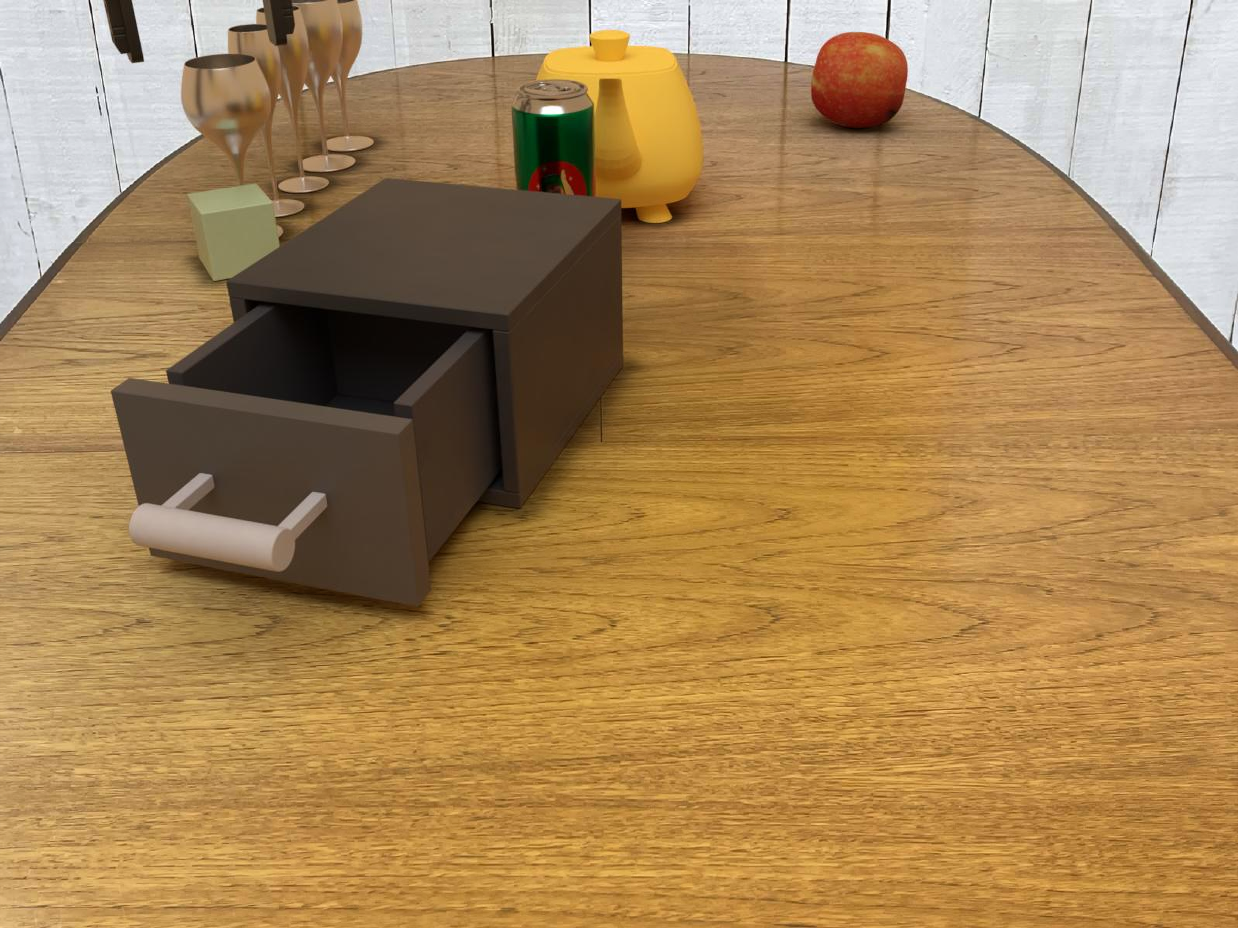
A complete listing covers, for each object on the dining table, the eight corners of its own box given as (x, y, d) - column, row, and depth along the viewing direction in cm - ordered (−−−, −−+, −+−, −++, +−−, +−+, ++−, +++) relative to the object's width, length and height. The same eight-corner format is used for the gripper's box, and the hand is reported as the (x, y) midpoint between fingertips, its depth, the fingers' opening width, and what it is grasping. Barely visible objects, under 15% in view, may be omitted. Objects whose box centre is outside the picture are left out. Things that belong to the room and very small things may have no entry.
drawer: (367, 675, 46) (340, 493, 42) (83, 616, 49) (33, 442, 45) (548, 436, 61) (541, 286, 57) (322, 403, 65) (301, 259, 61)
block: (213, 281, 82) (200, 213, 79) (199, 259, 85) (186, 193, 83) (283, 269, 83) (273, 202, 81) (266, 247, 87) (256, 182, 85)
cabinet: (520, 509, 57) (508, 314, 52) (259, 466, 61) (225, 281, 56) (623, 365, 70) (621, 198, 65) (403, 337, 74) (385, 177, 69)
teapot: (515, 258, 85) (505, 70, 78) (527, 168, 102) (519, 8, 96) (714, 254, 85) (719, 66, 78) (692, 165, 102) (695, 5, 96)
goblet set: (324, 136, 111) (303, -23, 104) (388, 137, 110) (370, -23, 104) (194, 248, 87) (155, 51, 80) (274, 250, 86) (242, 52, 80)
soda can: (548, 254, 85) (540, 73, 79) (612, 267, 83) (609, 82, 77) (505, 279, 81) (493, 91, 75) (570, 293, 79) (564, 101, 73)
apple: (825, 110, 116) (832, 20, 112) (915, 120, 113) (925, 27, 109) (797, 132, 110) (803, 38, 106) (891, 143, 107) (900, 46, 103)
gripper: (267, -258, 74) (308, 28, 82) (7, -251, 69) (77, 54, 77) (299, -258, 68) (339, 49, 76) (17, -251, 63) (93, 79, 71)
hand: (208, 51), depth 76 cm, fingers open, 8 cm apart
